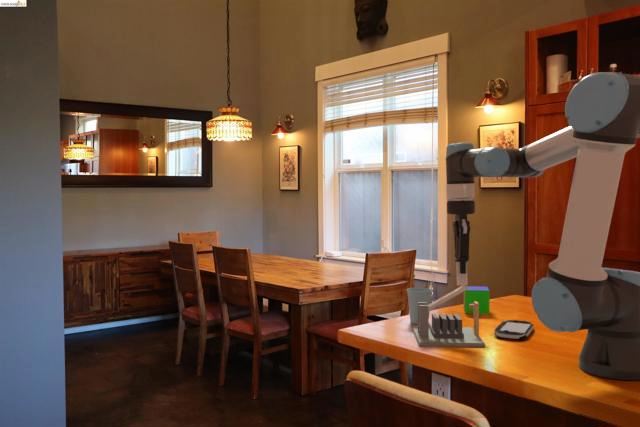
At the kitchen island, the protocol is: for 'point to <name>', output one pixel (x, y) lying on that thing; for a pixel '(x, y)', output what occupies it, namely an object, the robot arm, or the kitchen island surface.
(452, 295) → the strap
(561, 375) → the kitchen island surface
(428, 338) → the grey slotted rack
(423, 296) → the cup
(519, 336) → the gaming console
